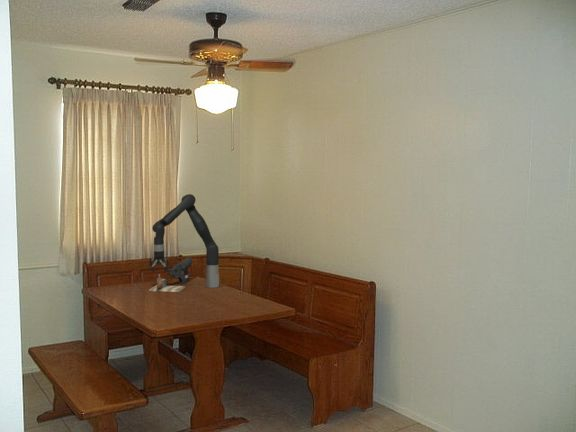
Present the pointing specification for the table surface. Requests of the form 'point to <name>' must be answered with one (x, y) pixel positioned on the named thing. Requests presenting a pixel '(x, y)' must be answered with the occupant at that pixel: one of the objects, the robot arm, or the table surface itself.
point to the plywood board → (169, 288)
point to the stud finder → (164, 283)
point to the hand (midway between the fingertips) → (159, 271)
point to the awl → (159, 282)
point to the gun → (181, 270)
